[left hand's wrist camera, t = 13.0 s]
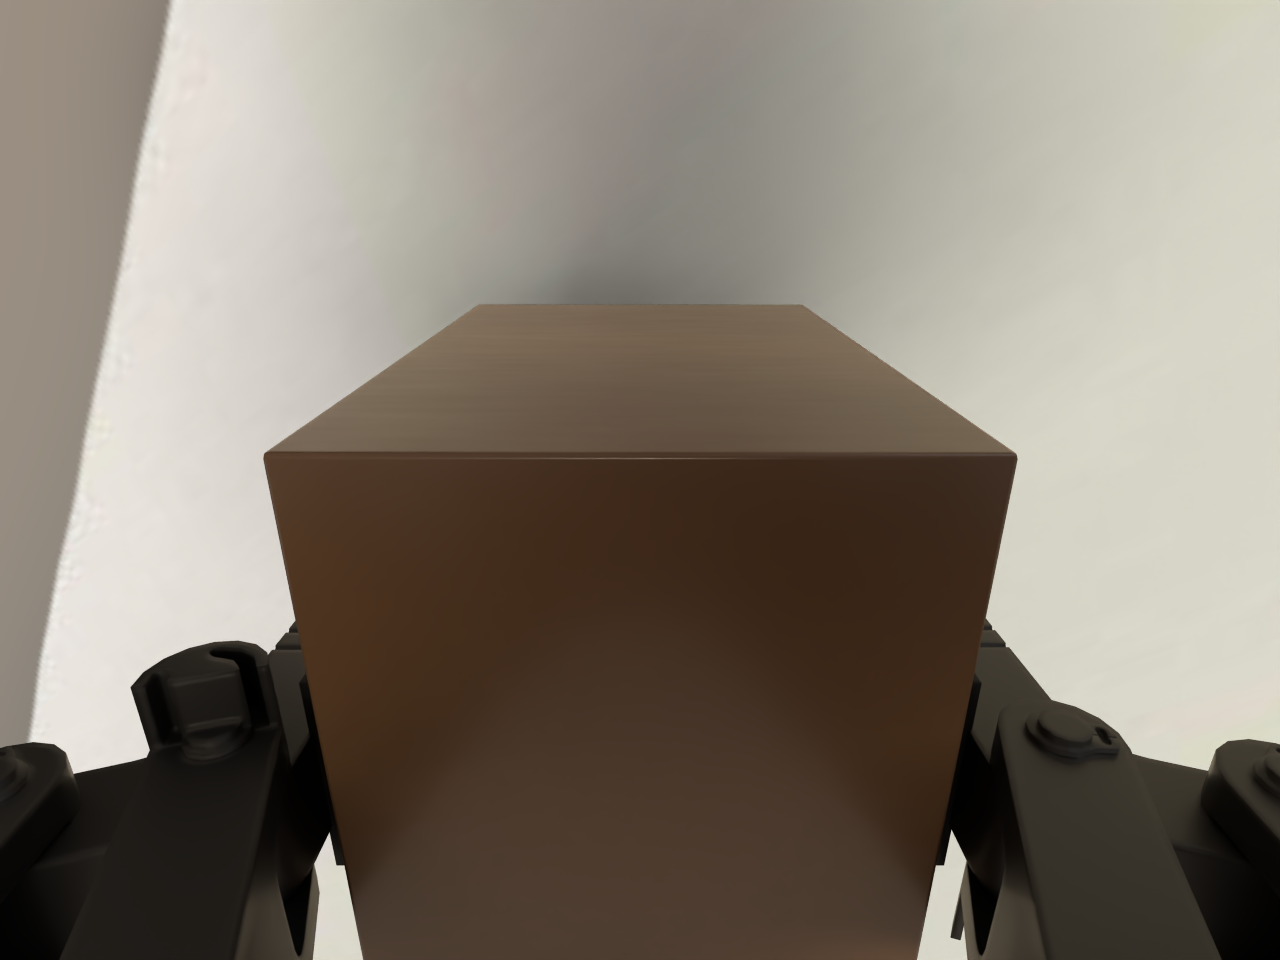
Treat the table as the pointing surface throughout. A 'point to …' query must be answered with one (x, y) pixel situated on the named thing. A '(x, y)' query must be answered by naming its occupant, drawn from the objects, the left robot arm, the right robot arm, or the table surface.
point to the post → (640, 634)
